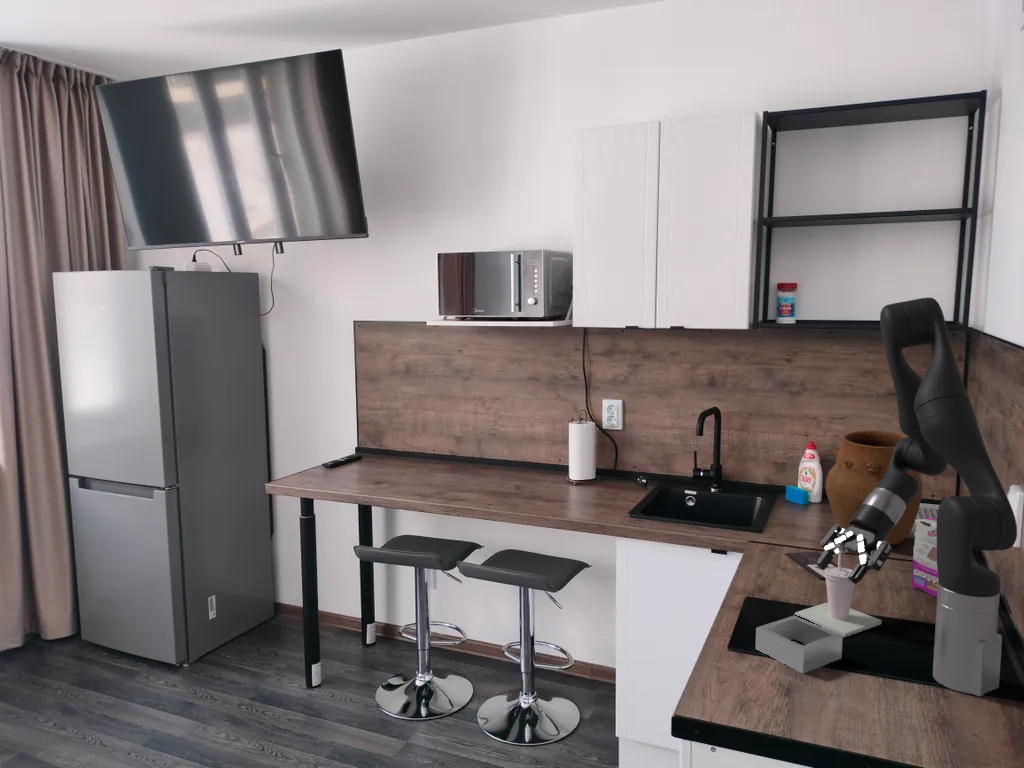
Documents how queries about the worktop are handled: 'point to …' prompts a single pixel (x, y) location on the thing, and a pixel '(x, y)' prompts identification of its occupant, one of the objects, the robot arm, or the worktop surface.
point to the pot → (866, 478)
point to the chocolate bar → (810, 563)
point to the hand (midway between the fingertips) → (835, 574)
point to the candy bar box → (925, 556)
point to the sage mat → (841, 627)
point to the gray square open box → (805, 658)
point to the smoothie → (839, 590)
